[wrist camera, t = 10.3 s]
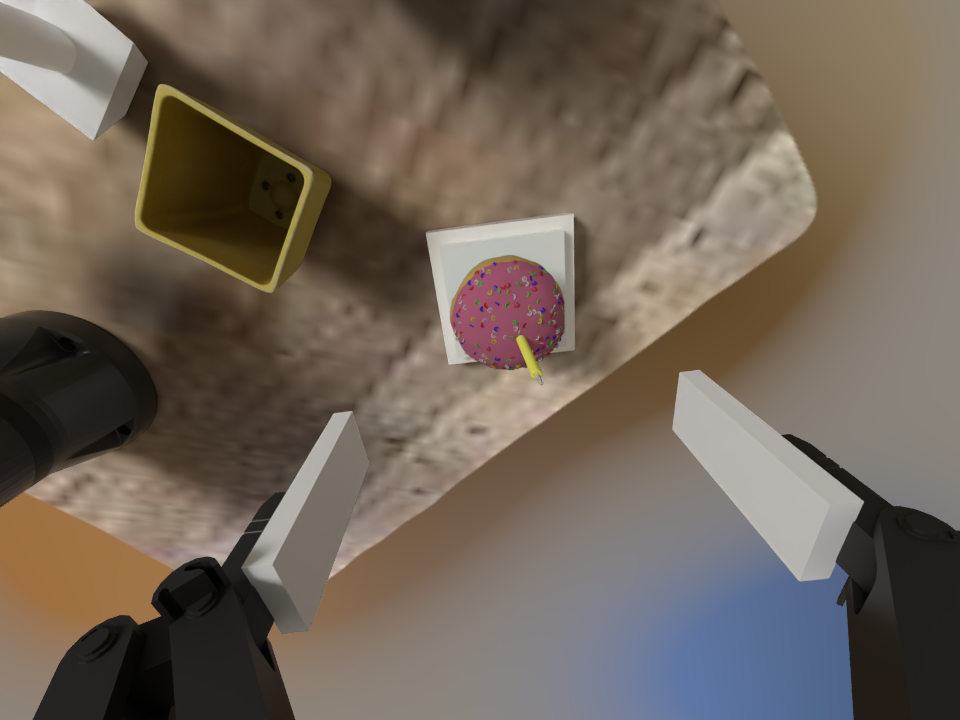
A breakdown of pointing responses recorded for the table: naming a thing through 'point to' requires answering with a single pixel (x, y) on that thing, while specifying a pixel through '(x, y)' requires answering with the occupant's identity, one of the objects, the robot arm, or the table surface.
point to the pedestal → (473, 244)
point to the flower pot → (226, 192)
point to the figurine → (70, 60)
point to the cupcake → (508, 314)
